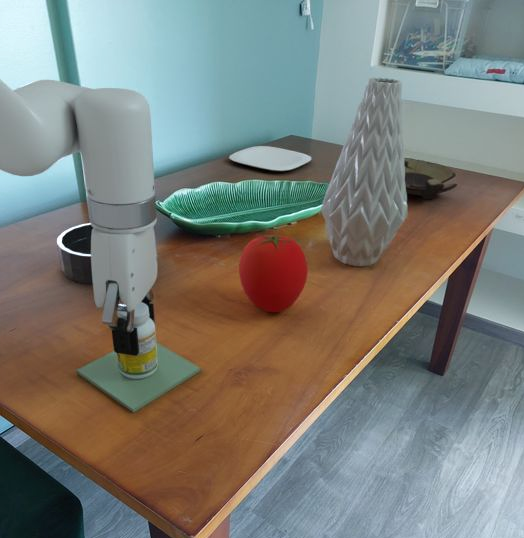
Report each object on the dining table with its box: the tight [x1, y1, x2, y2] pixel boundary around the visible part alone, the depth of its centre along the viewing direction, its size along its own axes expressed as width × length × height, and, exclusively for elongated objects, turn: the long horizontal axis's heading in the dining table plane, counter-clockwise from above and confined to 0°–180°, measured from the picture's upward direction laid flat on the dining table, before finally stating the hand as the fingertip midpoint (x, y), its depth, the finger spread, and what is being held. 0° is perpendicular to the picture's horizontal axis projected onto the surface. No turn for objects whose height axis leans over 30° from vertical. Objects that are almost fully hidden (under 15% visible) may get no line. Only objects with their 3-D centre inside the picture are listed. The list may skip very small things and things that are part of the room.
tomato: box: [238, 232, 308, 313], centre depth 87 cm, size 11×11×13 cm
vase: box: [320, 77, 409, 268], centre depth 100 cm, size 17×17×33 cm
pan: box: [56, 222, 93, 286], centre depth 99 cm, size 16×16×6 cm
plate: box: [228, 145, 312, 172], centre depth 161 cm, size 22×22×2 cm
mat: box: [76, 341, 201, 413], centre depth 74 cm, size 12×12×1 cm
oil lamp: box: [404, 157, 458, 200], centre depth 143 cm, size 22×30×8 cm
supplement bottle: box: [117, 302, 158, 379], centre depth 71 cm, size 5×5×10 cm
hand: (135, 339), depth 71 cm, fingers closed on supplement bottle, 5 cm apart
